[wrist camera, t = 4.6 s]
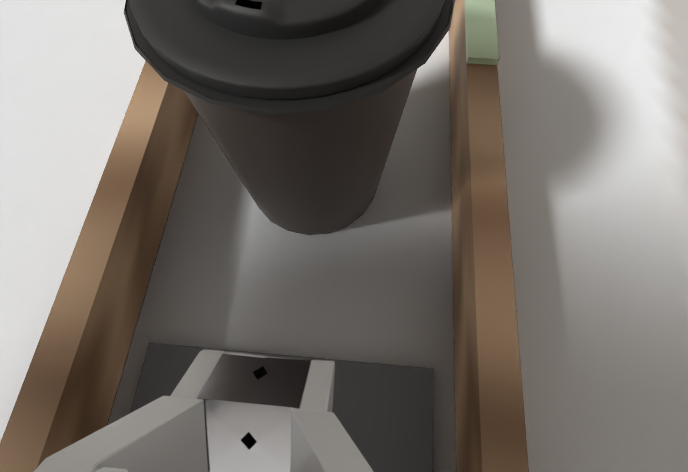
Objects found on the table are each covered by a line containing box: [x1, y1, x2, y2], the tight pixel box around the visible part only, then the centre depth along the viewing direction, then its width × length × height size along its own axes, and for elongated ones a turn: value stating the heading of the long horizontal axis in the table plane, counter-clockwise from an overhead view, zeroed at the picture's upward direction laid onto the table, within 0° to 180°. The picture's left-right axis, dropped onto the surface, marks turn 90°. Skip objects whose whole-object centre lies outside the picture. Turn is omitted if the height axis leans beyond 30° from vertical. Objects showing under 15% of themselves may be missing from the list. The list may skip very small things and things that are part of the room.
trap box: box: [0, 0, 529, 472], centre depth 16 cm, size 36×14×4 cm, turn 175°
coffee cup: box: [124, 0, 455, 235], centre depth 14 cm, size 8×8×10 cm
